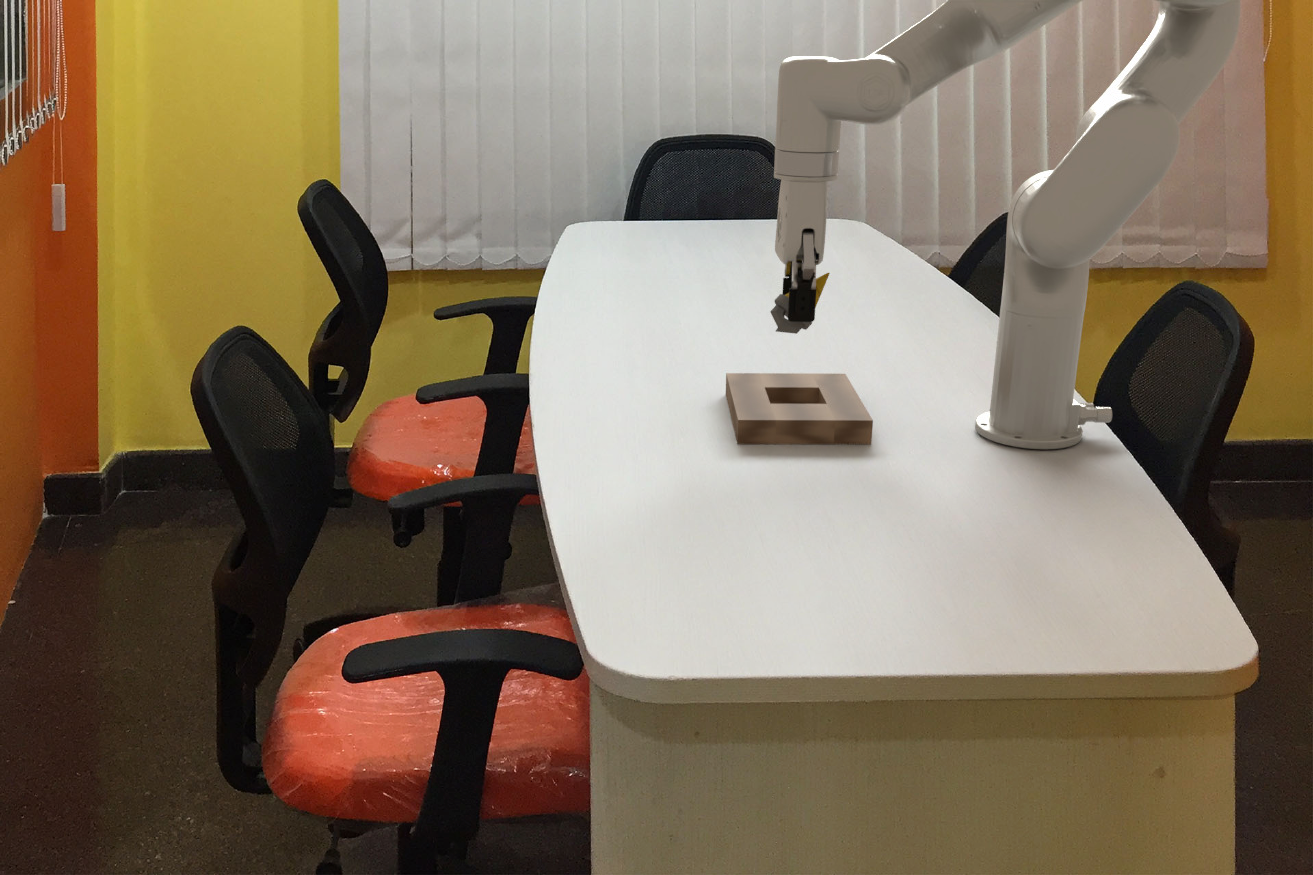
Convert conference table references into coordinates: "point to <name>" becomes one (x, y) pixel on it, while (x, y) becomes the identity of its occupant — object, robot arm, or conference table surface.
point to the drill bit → (782, 309)
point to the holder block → (796, 409)
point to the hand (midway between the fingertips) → (797, 313)
